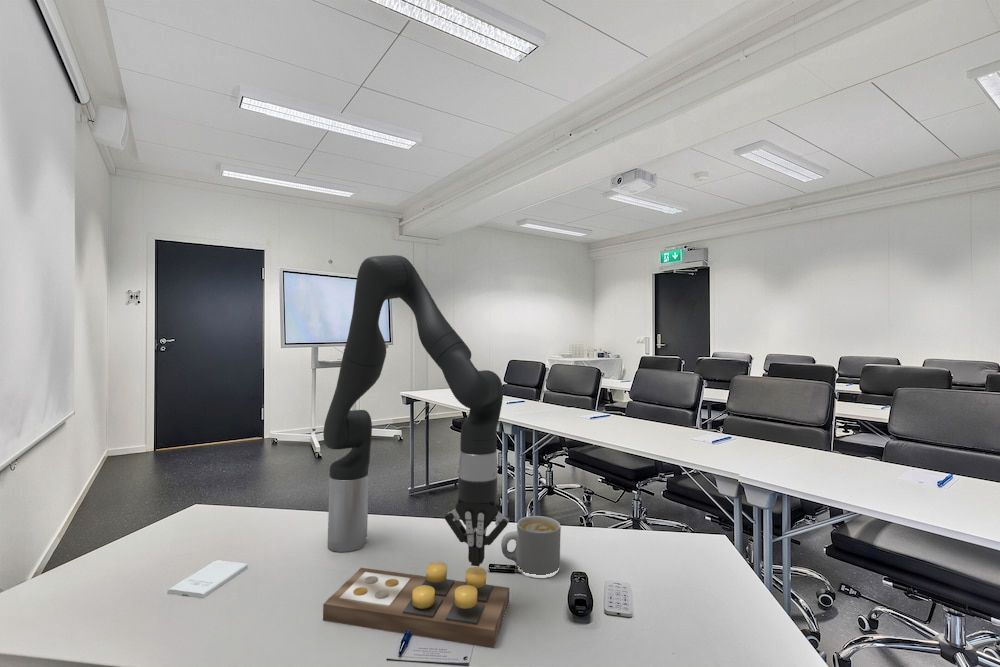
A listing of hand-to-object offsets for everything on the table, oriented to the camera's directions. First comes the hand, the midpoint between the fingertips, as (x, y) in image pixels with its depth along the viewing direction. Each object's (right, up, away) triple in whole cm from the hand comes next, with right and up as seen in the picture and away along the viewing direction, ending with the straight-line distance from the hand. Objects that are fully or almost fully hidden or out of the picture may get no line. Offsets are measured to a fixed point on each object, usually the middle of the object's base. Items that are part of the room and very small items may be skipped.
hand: (476, 564), depth 91 cm
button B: (-9, -5, -5) cm, 11 cm away
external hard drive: (-56, -8, +8) cm, 58 cm away
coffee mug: (+12, -9, +17) cm, 23 cm away
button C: (0, -4, 0) cm, 4 cm away
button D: (-2, -4, -7) cm, 8 cm away
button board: (-11, -8, -1) cm, 14 cm away
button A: (-8, -4, +2) cm, 9 cm away
